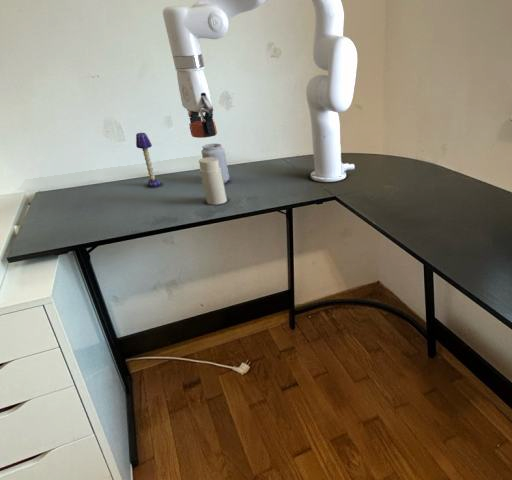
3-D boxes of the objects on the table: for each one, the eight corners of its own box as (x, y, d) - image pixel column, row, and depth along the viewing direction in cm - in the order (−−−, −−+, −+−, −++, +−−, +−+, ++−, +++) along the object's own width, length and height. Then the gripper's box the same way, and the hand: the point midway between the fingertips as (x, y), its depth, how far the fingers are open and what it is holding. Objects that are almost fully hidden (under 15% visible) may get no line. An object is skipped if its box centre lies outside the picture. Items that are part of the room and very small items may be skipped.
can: (232, 178, 166) (226, 142, 159) (225, 185, 160) (218, 148, 153) (212, 177, 166) (205, 142, 159) (204, 184, 161) (196, 147, 153)
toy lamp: (164, 183, 162) (150, 131, 152) (159, 187, 158) (145, 135, 148) (150, 183, 162) (135, 131, 152) (145, 187, 158) (130, 135, 148)
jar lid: (199, 139, 132) (197, 127, 130) (187, 135, 136) (184, 123, 134) (221, 134, 136) (219, 122, 134) (208, 130, 140) (206, 119, 138)
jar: (225, 196, 151) (217, 156, 143) (228, 203, 146) (220, 161, 138) (205, 199, 149) (196, 158, 141) (207, 205, 144) (198, 163, 137)
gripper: (162, 61, 128) (179, 131, 139) (189, 67, 118) (205, 141, 128) (188, 59, 132) (203, 127, 143) (216, 64, 122) (230, 136, 132)
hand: (204, 133), depth 136 cm, fingers closed on jar lid, 7 cm apart
